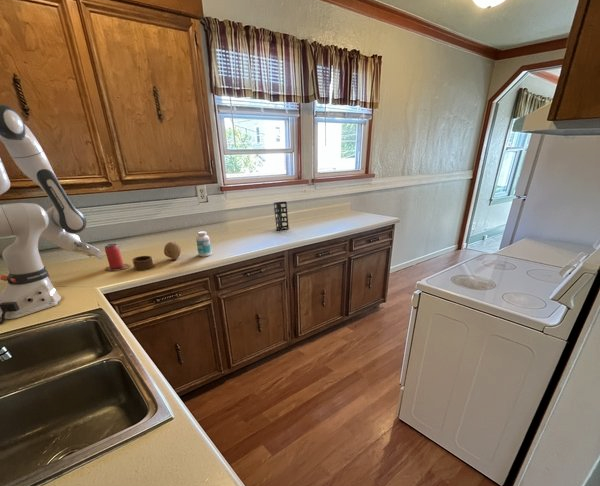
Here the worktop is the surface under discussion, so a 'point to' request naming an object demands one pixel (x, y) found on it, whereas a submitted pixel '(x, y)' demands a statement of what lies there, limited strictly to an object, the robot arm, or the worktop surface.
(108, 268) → the coaster
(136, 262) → the cup
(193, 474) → the worktop surface
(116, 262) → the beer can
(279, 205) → the holder
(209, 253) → the pill bottle
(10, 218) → the robot arm
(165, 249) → the natural sponge
